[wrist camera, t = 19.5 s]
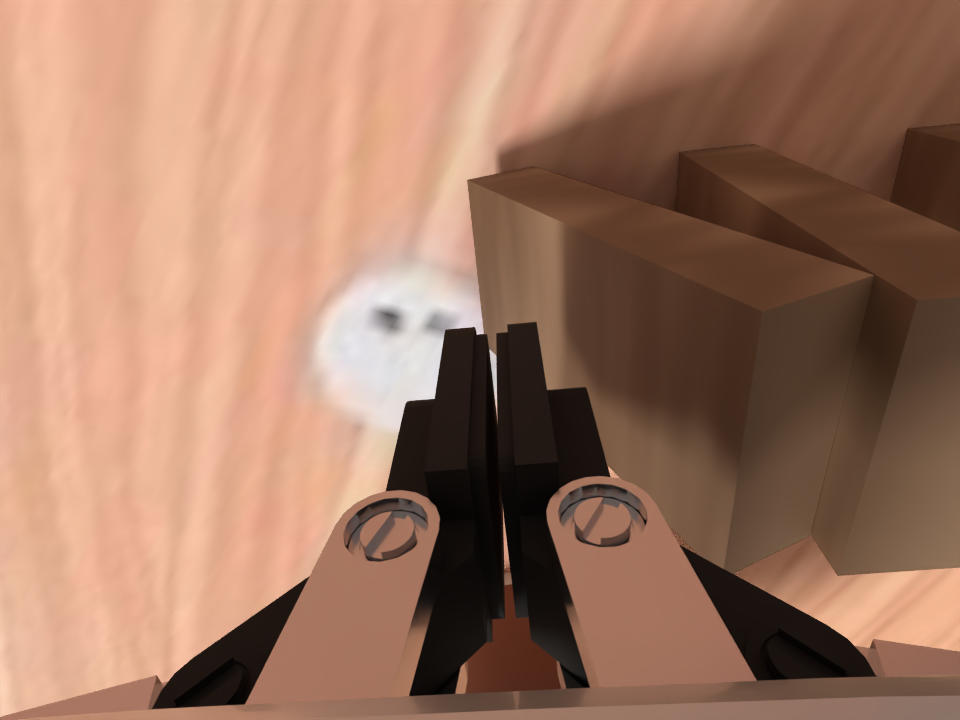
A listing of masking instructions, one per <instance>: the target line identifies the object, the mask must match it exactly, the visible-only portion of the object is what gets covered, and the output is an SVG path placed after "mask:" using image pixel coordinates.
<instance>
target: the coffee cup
mask: <svg viewBox="0 0 960 720" xmlns="http://www.w3.org/2000/svg"><path fill="white" fill-rule="evenodd" d="M504 581H505V619H493V642H486V643H485V644H484V645H483V646H482V647H481V648H480V649H479V650H478V651H477V652H476V653H475V654H474V655H473V656H472V657H471V658H469V659H468V660H467V663H468V680H467V685H466V691H465V694H466V693H487V692H509V691H531V690H552V689H561V685H560V681H559V677H558V671H557V660H556V659H554V658H553V657H552V656H551V655H549V654H548V653H547V652H546V651H544V650H543V649H542V648H541V647H540V646H538V645H537V644H536V643H535V642H533V641H532V640H531V636H530V626H529V617H528V618H516V614H515V605H514V597H513V588H512V579H511V572H506V573H504Z"/></svg>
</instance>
